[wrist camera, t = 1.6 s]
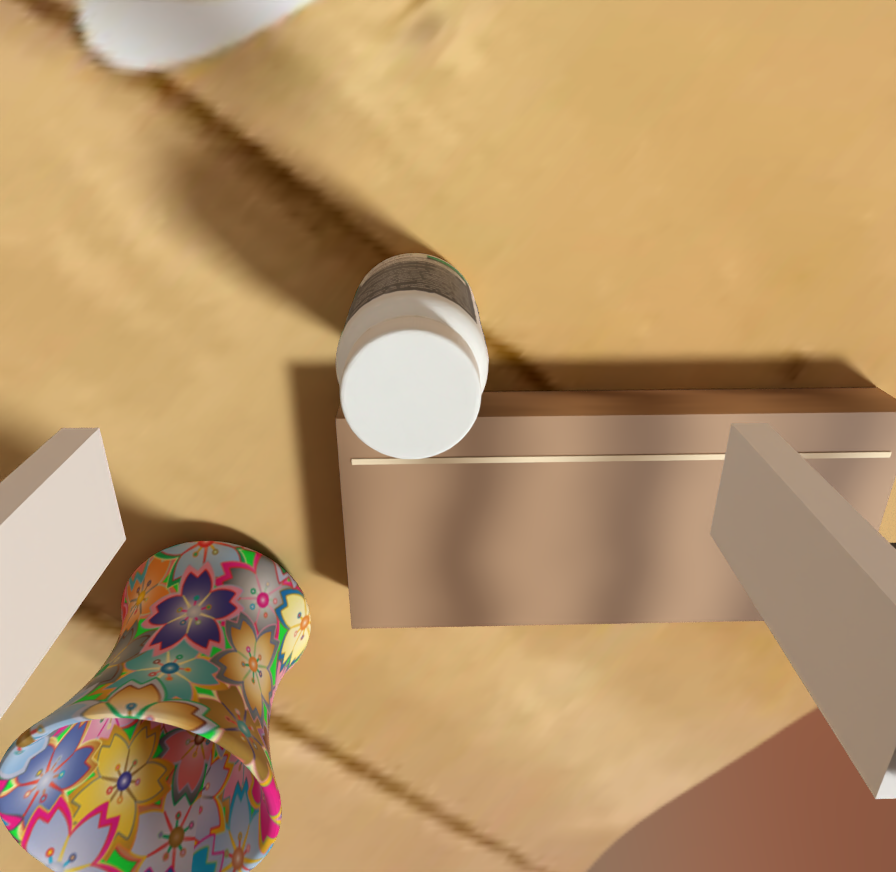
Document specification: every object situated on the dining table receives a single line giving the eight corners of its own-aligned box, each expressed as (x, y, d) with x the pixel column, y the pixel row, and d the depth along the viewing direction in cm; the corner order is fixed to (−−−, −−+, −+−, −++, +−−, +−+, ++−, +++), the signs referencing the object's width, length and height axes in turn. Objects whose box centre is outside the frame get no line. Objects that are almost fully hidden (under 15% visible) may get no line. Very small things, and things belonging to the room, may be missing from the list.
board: (356, 592, 33) (351, 629, 30) (342, 393, 28) (335, 419, 26) (822, 583, 33) (851, 619, 31) (877, 387, 29) (916, 412, 27)
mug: (85, 546, 31) (-65, 743, 22) (284, 502, 31) (219, 685, 21) (190, 732, 36) (105, 959, 27) (362, 698, 36) (339, 918, 26)
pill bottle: (334, 274, 26) (297, 344, 19) (454, 233, 26) (466, 288, 18) (378, 385, 28) (361, 490, 21) (491, 349, 28) (516, 443, 20)
